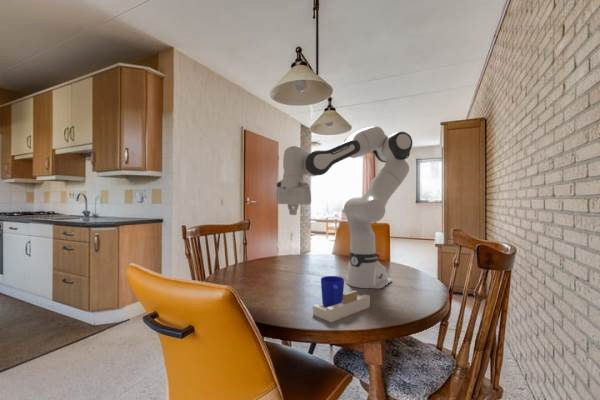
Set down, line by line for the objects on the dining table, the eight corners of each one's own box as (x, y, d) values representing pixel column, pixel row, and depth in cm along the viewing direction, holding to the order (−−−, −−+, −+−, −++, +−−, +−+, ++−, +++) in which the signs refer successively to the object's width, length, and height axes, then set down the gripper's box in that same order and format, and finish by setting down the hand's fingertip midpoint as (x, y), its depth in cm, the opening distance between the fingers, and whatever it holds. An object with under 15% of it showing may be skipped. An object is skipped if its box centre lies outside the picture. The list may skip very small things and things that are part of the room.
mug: (323, 316, 95) (324, 285, 95) (319, 303, 107) (319, 276, 107) (348, 316, 95) (349, 285, 95) (341, 302, 107) (341, 275, 107)
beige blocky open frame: (351, 300, 110) (352, 282, 109) (369, 307, 103) (369, 287, 103) (313, 314, 96) (313, 293, 96) (330, 322, 90) (330, 299, 90)
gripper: (314, 182, 122) (314, 215, 122) (284, 184, 138) (284, 213, 138) (303, 182, 118) (303, 216, 118) (273, 183, 133) (273, 214, 134)
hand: (292, 214), depth 128 cm, fingers closed
